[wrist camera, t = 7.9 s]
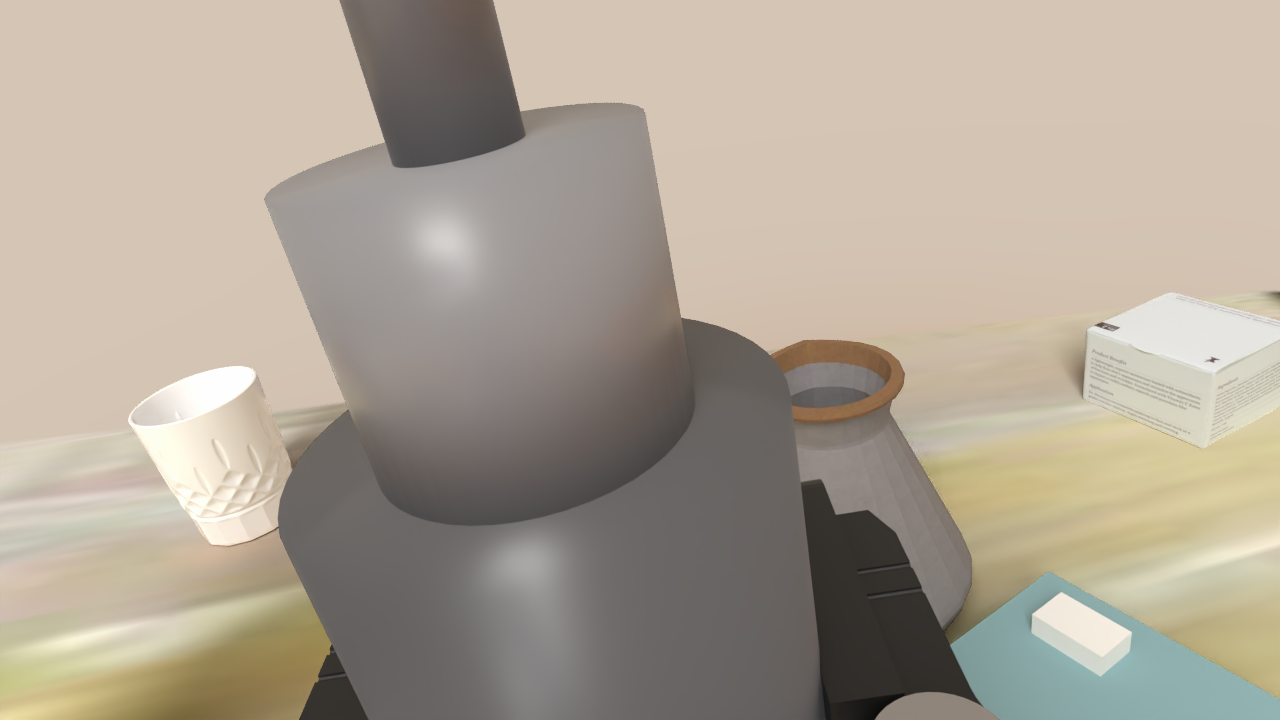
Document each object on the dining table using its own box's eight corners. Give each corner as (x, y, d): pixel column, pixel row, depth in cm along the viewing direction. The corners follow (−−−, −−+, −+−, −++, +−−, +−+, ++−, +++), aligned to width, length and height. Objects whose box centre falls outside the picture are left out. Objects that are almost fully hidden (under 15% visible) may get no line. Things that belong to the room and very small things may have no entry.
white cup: (202, 507, 58) (140, 390, 54) (311, 469, 60) (259, 354, 56) (188, 569, 52) (115, 441, 47) (311, 524, 53) (252, 398, 49)
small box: (1293, 403, 46) (1309, 324, 44) (1201, 453, 43) (1214, 372, 41) (1162, 358, 52) (1171, 288, 50) (1077, 400, 50) (1082, 327, 48)
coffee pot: (918, 511, 43) (909, 255, 37) (1019, 677, 33) (1030, 363, 26) (540, 579, 44) (465, 341, 38) (523, 763, 34) (415, 479, 27)
